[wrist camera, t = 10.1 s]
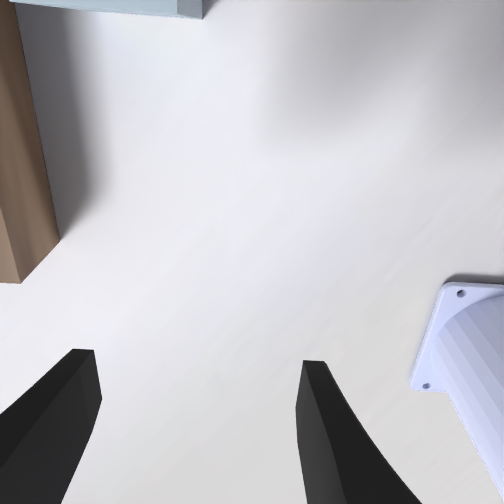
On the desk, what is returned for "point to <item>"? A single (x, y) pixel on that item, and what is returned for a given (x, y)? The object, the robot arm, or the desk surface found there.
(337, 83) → the desk surface
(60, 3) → the cabinet block
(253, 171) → the desk surface
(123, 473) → the desk surface
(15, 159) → the wooden frame
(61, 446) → the robot arm
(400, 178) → the desk surface
